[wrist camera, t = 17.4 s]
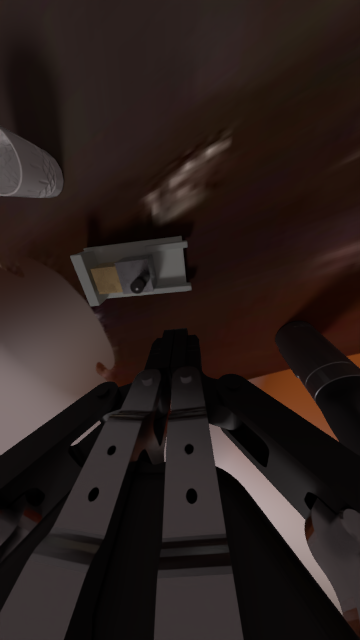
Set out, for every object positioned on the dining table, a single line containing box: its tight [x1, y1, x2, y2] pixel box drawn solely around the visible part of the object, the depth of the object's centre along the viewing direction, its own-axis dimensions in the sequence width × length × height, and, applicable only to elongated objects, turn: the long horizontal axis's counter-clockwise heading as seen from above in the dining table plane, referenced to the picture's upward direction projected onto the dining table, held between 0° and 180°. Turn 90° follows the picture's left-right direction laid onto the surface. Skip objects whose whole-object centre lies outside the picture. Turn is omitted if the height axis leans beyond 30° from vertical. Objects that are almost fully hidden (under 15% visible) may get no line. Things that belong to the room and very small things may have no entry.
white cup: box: [0, 126, 64, 198], centre depth 27 cm, size 8×8×10 cm
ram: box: [114, 254, 158, 294], centre depth 32 cm, size 6×6×11 cm
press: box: [70, 236, 191, 306], centre depth 36 cm, size 21×11×6 cm, turn 97°
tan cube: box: [90, 261, 123, 294], centre depth 36 cm, size 5×5×5 cm
